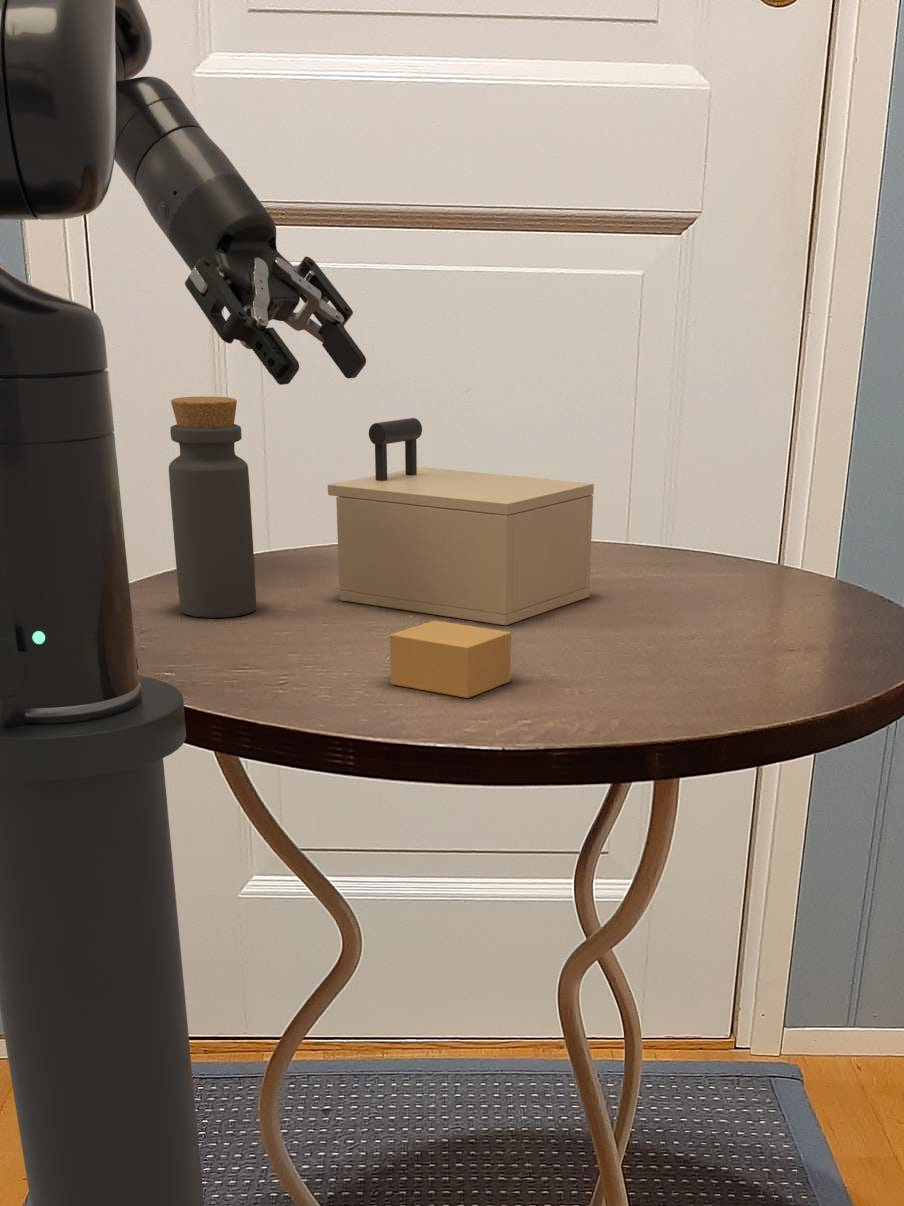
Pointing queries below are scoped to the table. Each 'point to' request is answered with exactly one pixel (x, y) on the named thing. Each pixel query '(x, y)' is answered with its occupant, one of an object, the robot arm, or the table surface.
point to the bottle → (211, 510)
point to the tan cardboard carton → (450, 658)
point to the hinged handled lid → (449, 481)
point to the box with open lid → (464, 558)
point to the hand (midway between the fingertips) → (325, 373)
